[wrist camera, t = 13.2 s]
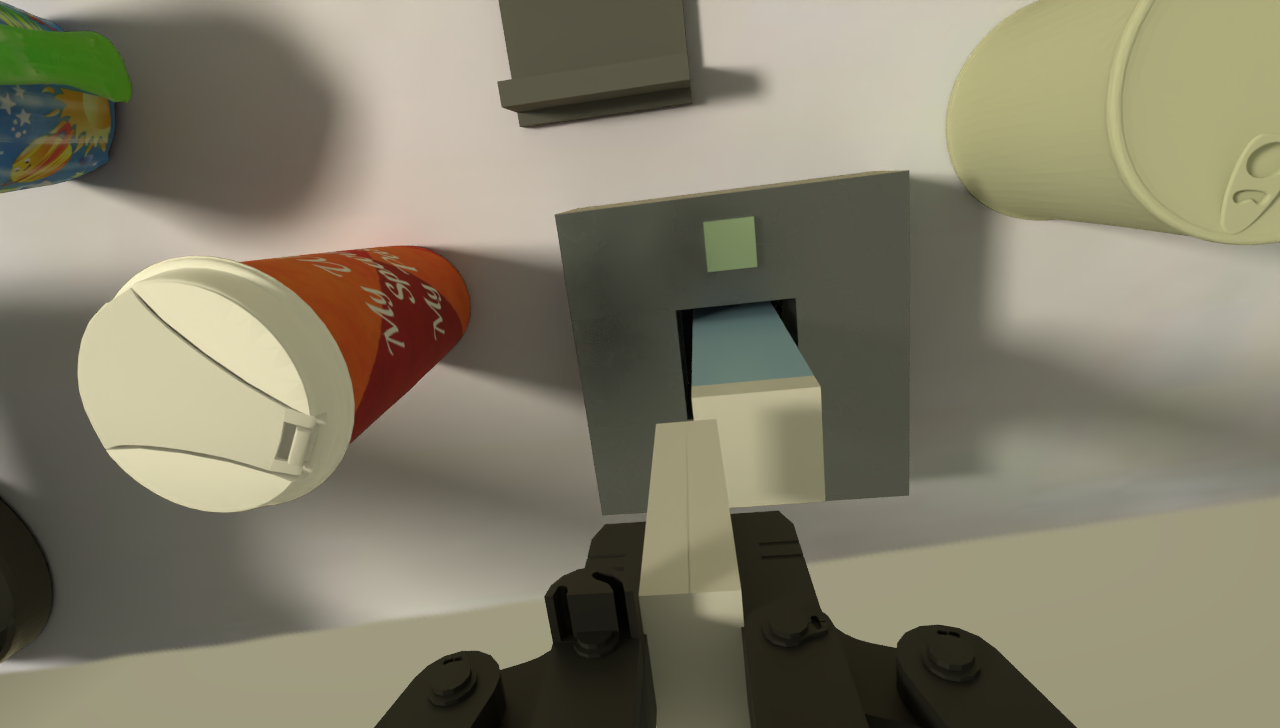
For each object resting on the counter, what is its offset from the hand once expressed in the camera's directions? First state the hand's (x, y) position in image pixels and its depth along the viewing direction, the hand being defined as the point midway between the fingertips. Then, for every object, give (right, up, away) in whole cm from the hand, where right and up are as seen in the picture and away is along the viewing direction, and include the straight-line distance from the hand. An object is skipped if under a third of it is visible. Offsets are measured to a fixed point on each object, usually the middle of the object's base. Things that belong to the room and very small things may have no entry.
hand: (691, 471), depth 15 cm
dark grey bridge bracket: (-3, +18, +12) cm, 22 cm away
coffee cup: (-13, +6, +17) cm, 22 cm away
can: (+17, +14, +12) cm, 25 cm away
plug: (+3, +4, +16) cm, 17 cm away
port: (+3, +4, +16) cm, 17 cm away
